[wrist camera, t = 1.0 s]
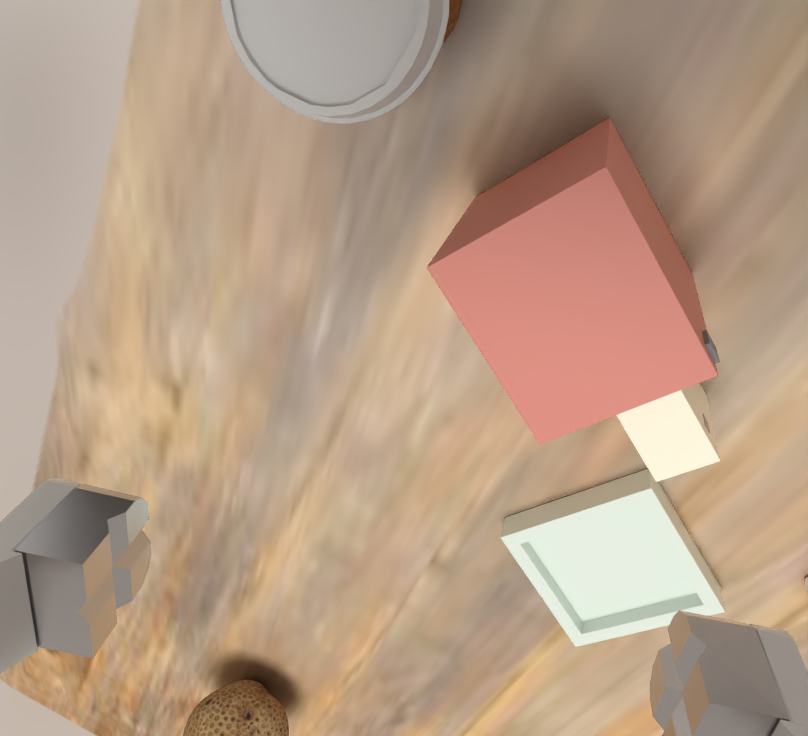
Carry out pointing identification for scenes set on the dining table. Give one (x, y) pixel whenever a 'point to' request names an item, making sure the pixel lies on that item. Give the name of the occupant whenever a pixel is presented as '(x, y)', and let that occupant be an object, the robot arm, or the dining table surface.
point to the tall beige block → (673, 432)
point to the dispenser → (576, 288)
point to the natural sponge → (238, 713)
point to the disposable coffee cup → (339, 51)
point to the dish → (612, 560)
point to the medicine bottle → (806, 583)
